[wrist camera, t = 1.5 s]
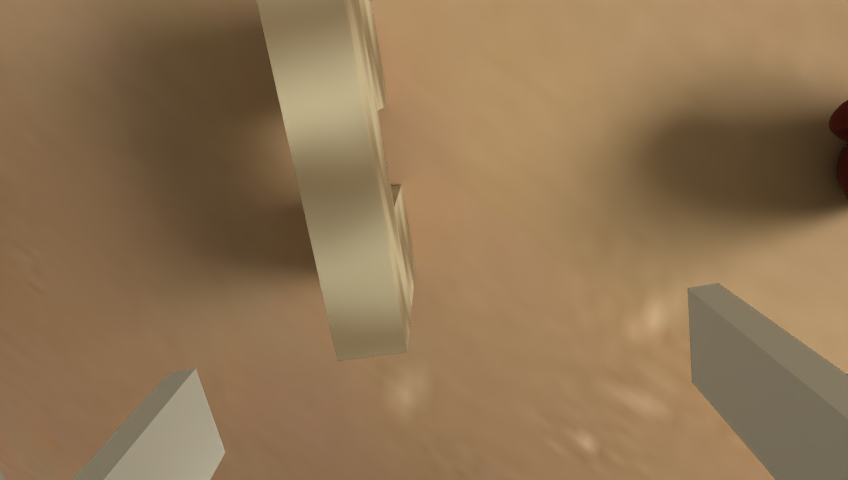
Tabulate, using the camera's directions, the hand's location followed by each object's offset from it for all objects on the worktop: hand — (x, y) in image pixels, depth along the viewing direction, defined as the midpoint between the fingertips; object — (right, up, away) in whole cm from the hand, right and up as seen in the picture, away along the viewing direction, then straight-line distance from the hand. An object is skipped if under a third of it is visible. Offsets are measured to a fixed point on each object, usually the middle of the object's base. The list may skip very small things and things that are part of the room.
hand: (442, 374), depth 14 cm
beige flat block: (-4, +9, +16) cm, 18 cm away
